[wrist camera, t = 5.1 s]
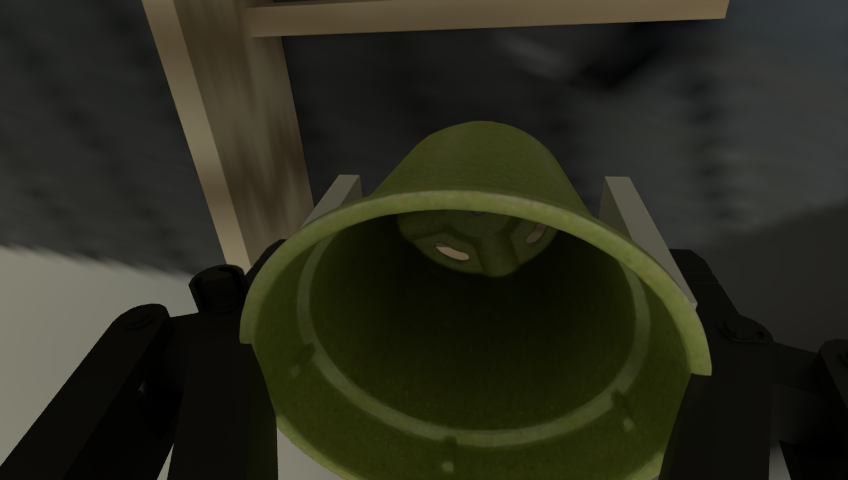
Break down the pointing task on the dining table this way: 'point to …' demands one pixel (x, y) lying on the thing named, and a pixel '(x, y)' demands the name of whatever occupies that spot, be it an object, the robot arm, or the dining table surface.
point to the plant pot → (473, 326)
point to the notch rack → (272, 96)
